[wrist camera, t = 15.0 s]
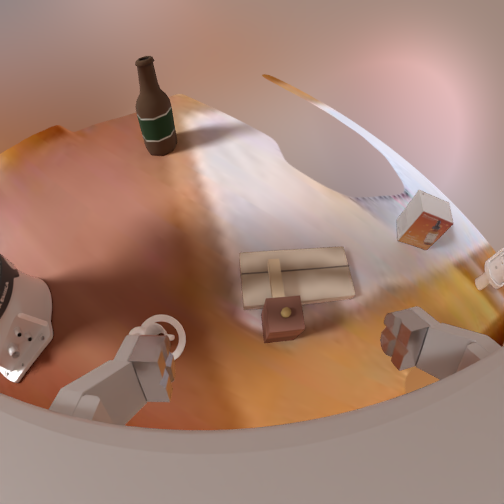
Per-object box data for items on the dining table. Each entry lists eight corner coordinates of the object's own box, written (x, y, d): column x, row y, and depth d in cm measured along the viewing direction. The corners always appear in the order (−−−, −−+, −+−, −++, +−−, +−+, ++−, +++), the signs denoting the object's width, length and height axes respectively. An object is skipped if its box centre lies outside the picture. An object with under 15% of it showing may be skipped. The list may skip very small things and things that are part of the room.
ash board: (351, 298, 43) (355, 294, 41) (243, 309, 42) (243, 305, 40) (339, 252, 47) (343, 246, 46) (239, 258, 46) (239, 252, 44)
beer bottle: (184, 142, 60) (171, 52, 39) (162, 160, 57) (141, 67, 36) (162, 133, 62) (146, 50, 41) (140, 151, 58) (117, 65, 37)
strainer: (490, 288, 45) (531, 259, 32) (480, 303, 43) (525, 275, 30) (476, 265, 48) (515, 232, 34) (465, 279, 46) (509, 246, 33)
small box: (396, 241, 49) (422, 210, 40) (395, 219, 52) (418, 188, 43) (426, 251, 49) (454, 224, 39) (424, 230, 51) (449, 201, 42)
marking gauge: (293, 339, 40) (306, 327, 32) (264, 343, 39) (270, 331, 32) (283, 271, 45) (292, 245, 37) (256, 273, 45) (260, 247, 37)
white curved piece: (126, 346, 38) (116, 342, 34) (148, 305, 42) (140, 296, 38) (172, 373, 37) (166, 371, 33) (194, 328, 40) (190, 322, 37)
